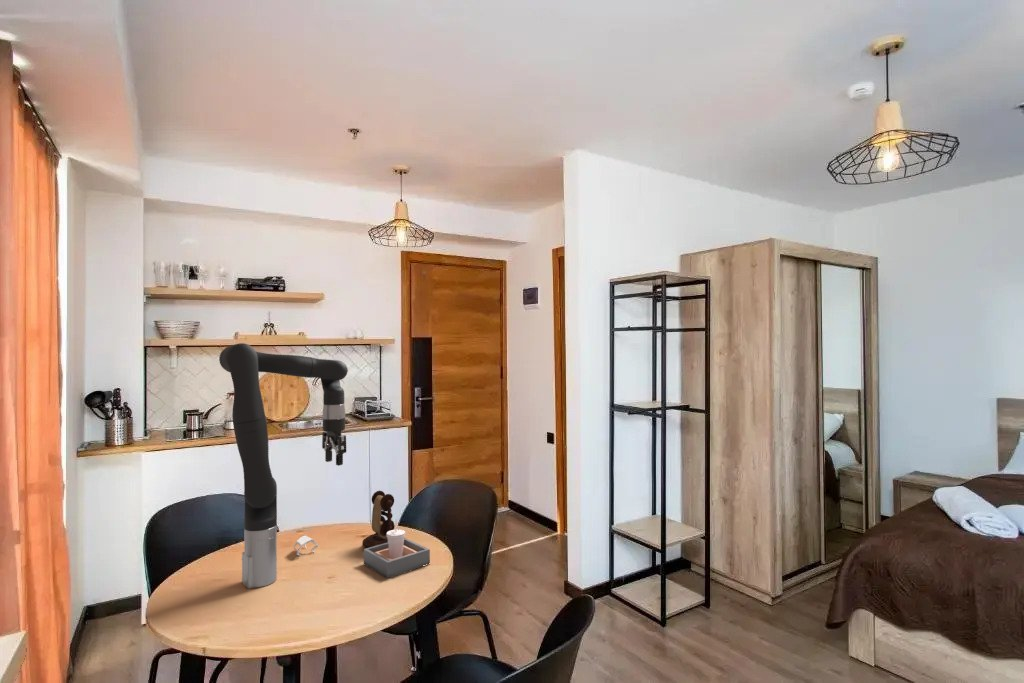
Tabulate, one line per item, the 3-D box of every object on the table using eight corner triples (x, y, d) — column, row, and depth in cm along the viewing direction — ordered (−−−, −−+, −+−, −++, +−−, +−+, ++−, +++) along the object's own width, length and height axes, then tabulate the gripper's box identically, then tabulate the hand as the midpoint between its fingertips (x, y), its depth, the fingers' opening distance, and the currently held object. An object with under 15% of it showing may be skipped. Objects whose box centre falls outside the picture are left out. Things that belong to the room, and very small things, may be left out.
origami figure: (320, 555, 187) (320, 541, 187) (295, 560, 183) (295, 546, 183) (314, 545, 198) (314, 531, 198) (290, 549, 194) (290, 535, 194)
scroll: (355, 546, 196) (355, 492, 196) (390, 536, 206) (390, 485, 206) (374, 557, 185) (374, 500, 185) (410, 547, 195) (410, 492, 195)
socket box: (387, 578, 167) (387, 562, 167) (363, 564, 179) (363, 549, 179) (429, 564, 178) (429, 549, 178) (404, 551, 190) (404, 537, 190)
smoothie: (407, 557, 182) (406, 516, 182) (403, 564, 176) (403, 522, 176) (388, 557, 182) (388, 516, 182) (384, 565, 175) (384, 522, 176)
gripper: (315, 416, 188) (315, 462, 188) (332, 419, 178) (332, 468, 177) (335, 414, 193) (335, 459, 193) (353, 417, 183) (353, 464, 182)
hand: (334, 463), depth 185 cm, fingers open, 8 cm apart
